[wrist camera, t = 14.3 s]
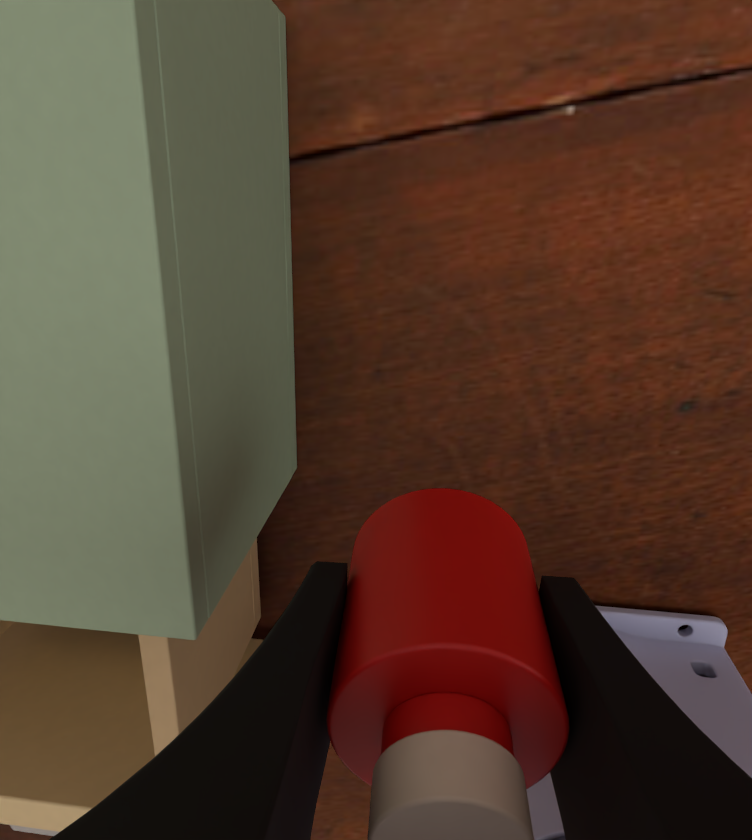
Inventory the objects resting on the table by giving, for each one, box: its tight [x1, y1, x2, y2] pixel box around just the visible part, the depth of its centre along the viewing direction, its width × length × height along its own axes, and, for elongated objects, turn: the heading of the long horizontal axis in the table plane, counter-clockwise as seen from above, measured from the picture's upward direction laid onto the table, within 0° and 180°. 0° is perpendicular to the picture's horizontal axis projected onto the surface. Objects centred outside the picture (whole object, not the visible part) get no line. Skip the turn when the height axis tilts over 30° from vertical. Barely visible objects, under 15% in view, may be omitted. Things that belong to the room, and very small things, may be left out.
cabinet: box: [0, 0, 297, 640], centre depth 17 cm, size 15×13×10 cm
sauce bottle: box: [326, 488, 569, 840], centre depth 11 cm, size 4×4×6 cm
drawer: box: [0, 538, 263, 836], centre depth 20 cm, size 18×11×8 cm, turn 179°
